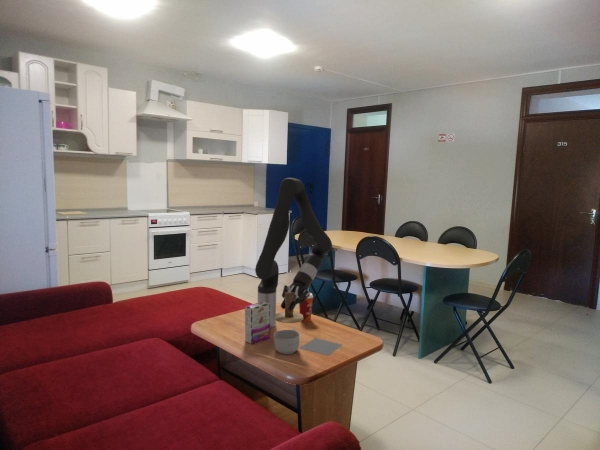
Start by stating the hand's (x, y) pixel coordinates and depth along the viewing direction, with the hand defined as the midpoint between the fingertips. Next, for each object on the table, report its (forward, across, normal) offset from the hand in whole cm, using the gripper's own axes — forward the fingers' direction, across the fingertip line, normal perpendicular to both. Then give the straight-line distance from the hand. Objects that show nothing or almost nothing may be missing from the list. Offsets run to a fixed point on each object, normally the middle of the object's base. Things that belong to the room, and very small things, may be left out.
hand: (286, 308), depth 167 cm
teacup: (+12, 0, +15) cm, 19 cm away
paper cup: (-13, -20, +39) cm, 46 cm away
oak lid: (+2, 0, +5) cm, 5 cm away
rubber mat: (+3, +8, +23) cm, 25 cm away
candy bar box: (+13, -18, +14) cm, 26 cm away
